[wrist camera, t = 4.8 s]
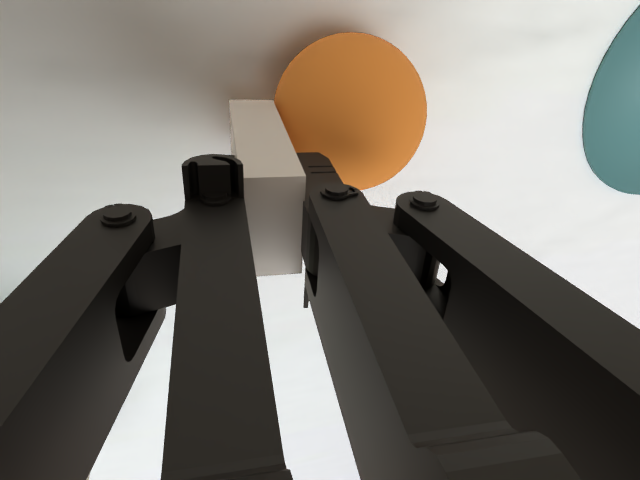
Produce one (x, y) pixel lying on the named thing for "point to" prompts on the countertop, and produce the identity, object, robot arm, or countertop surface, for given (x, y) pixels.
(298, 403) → the countertop surface
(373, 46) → the ball
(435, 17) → the countertop surface
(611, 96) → the disc
